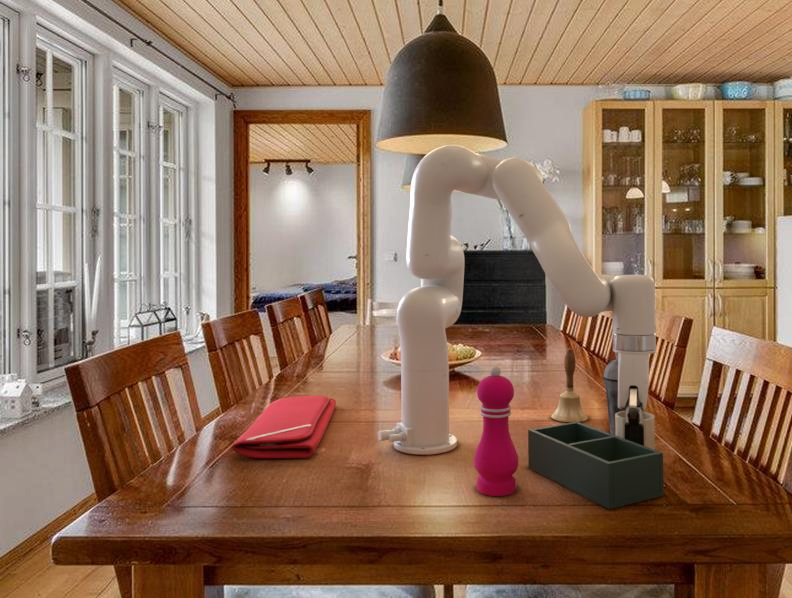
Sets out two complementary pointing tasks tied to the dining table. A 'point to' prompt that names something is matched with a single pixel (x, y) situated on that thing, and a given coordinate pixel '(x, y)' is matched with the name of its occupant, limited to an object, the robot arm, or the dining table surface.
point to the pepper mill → (495, 437)
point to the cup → (647, 421)
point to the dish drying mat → (287, 428)
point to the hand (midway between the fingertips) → (635, 440)
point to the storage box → (596, 464)
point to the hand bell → (569, 396)
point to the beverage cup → (612, 391)
